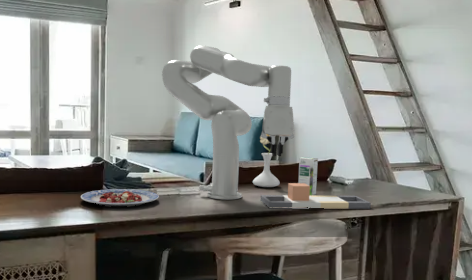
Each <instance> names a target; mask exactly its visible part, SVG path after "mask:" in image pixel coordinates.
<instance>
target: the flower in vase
mask: <svg viewBox="0 0 472 280" xmlns="http://www.w3.org/2000/svg"><path fill="white" fill-rule="evenodd" d="M266 135H267V134H266ZM267 136H270V135H267ZM276 136H277V135H275V137H276ZM259 139H260V140H259V142H260V143H261V144H262V146H263V147H264V148H265V149H266V150H267V151H268V152H262V153H261V156H262V158H263V162H264V163H263V164H264V165H263V171H262V172H261V173H260V174H259V175H257V176H256V177H255V178H254V179H253V180H252V183H253V185H255V186H256V187H257V186H258V187H261V188H274V187H277V186H280V180H279V179H278V178H277V177H276V176H275V175H274V174H273V173H272V172H271V170H270V169H271V168H270V166H271V165H270V164H271V159H272V157H274V156H273V155H272V153H271V147H270V148H269V147H267V146H266V145H267V144H271V143H270V142H269V141H268V140H267V139H265V138H262V137H261V136H259Z"/></svg>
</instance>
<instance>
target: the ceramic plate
mask: <svg viewBox="0 0 472 280" xmlns="http://www.w3.org/2000/svg"><path fill="white" fill-rule="evenodd" d="M159 198H160V195H159V194H157V193H155V192H153V191H149V190H143V189H134V188H133V189H132V188H131V189H129V188H127V189H126V188H112V189H111V188H110V189H100V190H92V191H87V192H85V193H83V194H81V195H80V199H81V200H82V201H85V202H88V203H94V204H95V203H96V204H95V205H98V204H99V205H98V206H102V205H105V206H104V207H111V206H127V207H136V206H141V205H144V204H145V203H150V202H154V201H156V200H158V199H159ZM135 205H136V206H135Z"/></svg>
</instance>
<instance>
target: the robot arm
mask: <svg viewBox="0 0 472 280" xmlns="http://www.w3.org/2000/svg"><path fill="white" fill-rule="evenodd" d="M189 58H190V61H188V60H181V59H180V60H179V59H173V60H170V61H167V62H166V63H165V64H164V66H163V67H162V71H161V72H162V74H161V77H162V82H163V85H164V87H165V89H166V91H167V92H168V93H169V94H170V95H171V96H172V97H173V98H175V99H176V100H178V102H180V103H181V104H183V106H185V107H186V108H187V109H189V110H190V111H191V112H192V113H194V114H195V115H196V116H197V117H198V118H200V119H201V120H203V121H211V125H210V126H211V133H212V144H213V145H212V170H211V171H212V175H211V177H212V178H211V182H210V183H209V184H207V185H199V186H198V191H200V192H207V193H206V194H207V195H206V197H208V198H210V199H214V200H228V201H229V200H238V199H241V198H242V197H243V195H242V194H243V193H241V192H239V190H238V189H239V168H240V166H239V165H240V144H239V140H238V137H239V136H243V135H246V134H248V133H249V132H250V130H251V129H252V125H253V122H252V119H251V117H250V115H249V114H248V112H246V111H245V109H243V108H241V107H240V106H238V105H237V104H236V103H234V102H233V101H232V100H231V99H229V98H227V97H225V96H223V95H216V94H214V95H213V94H209V93H207V92H205V91H203V90H202V89H201V88H199V87H198V86H197V85H195V84H196V83H198V82H200V81H202V80H204V79H205V78H207V77H209V76H211V75H212V74H215V75H218V76H221V77H224V78H225V79H228V80H230V81H233V82H235V83H238V84H242V85H245V86H248V87H256V88H257V87H258V88H259V87H260V88H268V89H267V90H268V91H267V93H268V94H267V95H268V96H267V97H264V98H263V103H266V104H267V105H265V108H264V111H263V113H264V114H263V121H262V128H261V129H262V131H261V133H260V137H262V138H265V139H267V140H268V141H269V142H270V143H269V144H270V148H271V150H270V153H272V155H273V156H272V157H277V156H278V157H282V154H283V153H284V145H285V143H286V142H287V141H289V140H291V139H294V138H295V136H294V135H295V134H294V131H295V130H294V126H295V125H294V123H295V122H294V110H293V106H291V105H290V104H291V87H292V86H291V85H292V83H291V82H292V68H291V67H290V66H288V65H271V66H269V65H261V64H256V63H251V62H247V61H244V60H240V59H238V58H235V56H234V55H233V54H232V53H229V52H226V51H222V50H221V49H219V48H216V47H212V46H207V45H198V46H195V47H194V48H193V49H192V50H191V51H190V55H189ZM266 134H267V135H270V136H267V135H266ZM275 135H276V136H279V138H278V139H279V140H278V143H277V144H276V136H275Z"/></svg>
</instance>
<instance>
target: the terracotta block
mask: <svg viewBox="0 0 472 280" xmlns="http://www.w3.org/2000/svg"><path fill="white" fill-rule="evenodd" d="M309 193H310V186H308V185H307V184H305V183H298V182H297V183H296V182H293V183H291V182H290V183H289V182H288V183H287V195H288V198H289V199H291V200H292V201H309Z"/></svg>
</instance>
